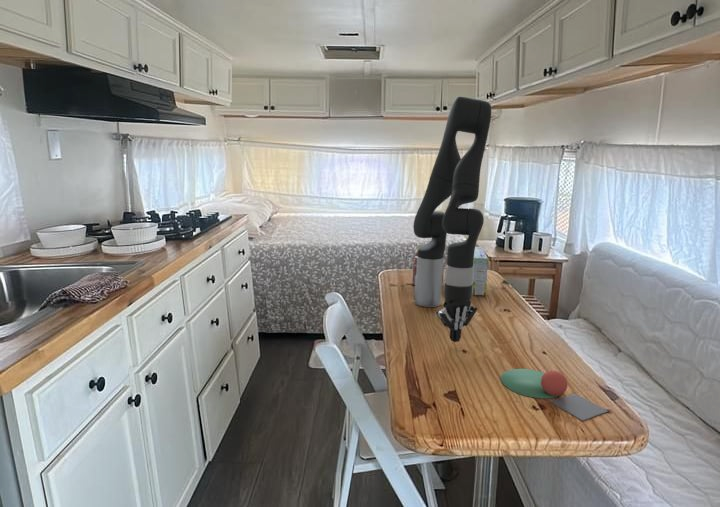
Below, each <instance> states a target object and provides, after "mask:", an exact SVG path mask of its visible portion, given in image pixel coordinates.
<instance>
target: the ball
mask: <svg viewBox="0 0 720 507" xmlns="http://www.w3.org/2000/svg"><path fill="white" fill-rule="evenodd" d="M544 373H545V374H544V375H543V376H542V378H541V386H542V388H543V390H544V391H545V392H546V393H548V394H549V395H552V396H558V397H560V396H561V395H563V394H565V392H566V391H567V389H568V380H567V378H566V376H565V375H564V374H563V373H561V372H560V371H558V370H554V369H552V370H548V371H546V372H544ZM559 395H560V396H559Z"/></svg>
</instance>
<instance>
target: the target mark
mask: <svg viewBox="0 0 720 507" xmlns="http://www.w3.org/2000/svg"><path fill="white" fill-rule="evenodd" d="M545 373H546V372H542V371H539V370H536V369H530V368H514V369H513V368H512V369H509V370H506V371H504V372H503V373H502V374H501V376H500V381H501V383H502V384H503V386H504V387H506V389H508V390H510V391H512V392H514V393H516V394H518V395H521V396H524V395H525V396H524V397H527V396H529V397H528V398H532V397H534V398H533V399H544V400H545V399H546V400H547V399H554V398H558V397H560V396H561V395H559V396H552V395H549V394H548V393H546V392H545V391H544V390H543V388H542V386H541V378H542V376H543V375H544V374H545Z"/></svg>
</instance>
